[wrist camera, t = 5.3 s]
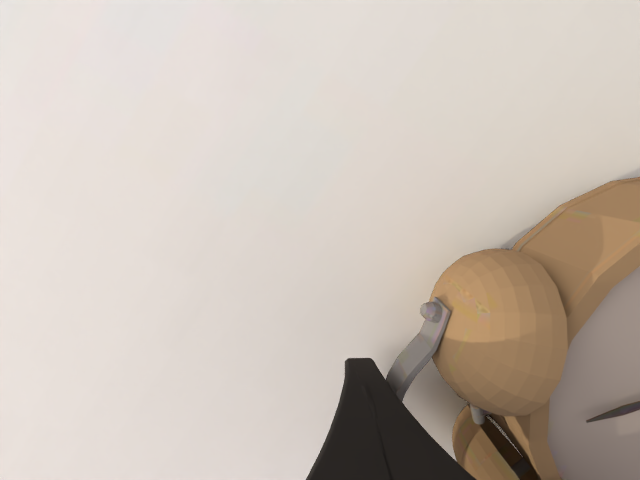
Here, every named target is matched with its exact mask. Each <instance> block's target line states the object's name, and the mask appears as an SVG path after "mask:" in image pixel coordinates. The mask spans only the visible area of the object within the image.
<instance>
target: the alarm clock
mask: <svg viewBox="0 0 640 480" xmlns="http://www.w3.org/2000/svg"><path fill="white" fill-rule="evenodd" d="M420 311H421V315H422V316H423V317H424V318H425V319H426V320H425V322H424V324H423V326H422V328H421V330H420V333H419V334H418V335H417V336H416V337H415V338H414V339H413V340H412V341H411V342H410V344H409V345H408V346H407V347H406V348H405V349H404V350H403V352H402V353H401V354H400V355H399V356H398V357H397V359H396V361H395V362H394V364H393V366H392V367H391V369H390V371H389V372H388V375H387V378H386V381H387V383H388V384H389V386H390V387H391V388H392V390H393V391H394V393H395V394H396V395H397V396H398V398H399V399H400V400H401V402H402V401H403V398H404V395H405V393H406V391H407V389H408V388H409V386H410V384H411V383H412V381H413V380H414V378H415V376H416V375H417V374H418V373H419V372H420V371H421V369H422V368H423V367H424V366H425V365H426V364H427V363H428V361H429V360H430V358H431V357H432V359H433V361H434V363H435V365H436V367H437V369H438V371H439V373H440V374H441V376H442V378H443V379H444V380H445V381H446V382H447V384H448V385H449V386H450V387H451V388H452V389H453V390H454V391H455V392H456V393H457V395H458V396H459V397H461V398H462V399H464V400H465V401H467V402H468V403H469V404H468V405H467V406H466V407H465V408H464V409H463V410H462V411H461V413H460V414H459V416H458V417H457V419H456V422H455V424H454V427H453V434H452V442H453V449H454V453H455V457H456V460H457V463H458V464H459V465H461V466H462V467H463V468H464V469H465V470H466V471H467V472H468V473H470V474H471V475H472V476H473V477H474V478H476V479H477V480H640V177H637V178H630V179H624V180H617V181H611V182H609V183H607V184H604V185H602V186H600V187H598V188H596V189H594V190H592V191H590V192H588V193H585V194H583V195H581V196H579V197H577V198H575V199H573V200H571V201H569V202H566V203H564V204H562V205H560V206H559V207H558V208H556V209H555V210H554V211H553V212H552V213H551V214H549V215H548V216H547V217H546V218H545V219H544V220H542V221H541V222H540V223H539V224H538V225H537V226H535V227H534V228H533V229H532V230H531V231H530V232H528V233H527V234H526V235H525V236H524V237H523V238H521V239H520V240H519V241H518V242H517V243H516V244H515V246H514V247H513V249H512V250H507V249H487V250H482V251H479V252H475V253H472V254H468V255H465V256H463V257H461V258H460V259H459V260H457V261H456V262H455V263H453V264H452V265H451V266H450V267H449V268H447V269H446V270H445V272H444V273H443V274H442V275H441V277H440V278H439V280H438V281H437V283H436V284H435V287H434V290H433V292H432V295H431V297H430V301H429V302H428V303H424V304H423V305H422V306H421V310H420ZM485 415H490V416H491V417H492V418H493V419H494V420H495V421H496V422H497V423H498V424H499V426H500V427H501V428H502V430H503V431H504V432H505V434H506V435H507V436H508V438H509V439H510V440H511V442H512V443H513V444H514V446H515V447H516V448H517V450H518V451H519V452H520V454H521V455H522V456H523V457H522V456H521V455H520V454H519V452H518V451H517V450H516V449H515V448H514V447H513V445H512V444H511V443H510V442H509V441H508V440H507V439H506V438H505V436H504V435H503V434H502V433H501V432H500V431H499V430H498V429H497V428H496V426H495V425H494V424H493V423H492V422H491V421H490V420H489V419H488V418H487V417H486V416H485Z"/></svg>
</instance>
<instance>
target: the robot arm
mask: <svg viewBox="0 0 640 480" xmlns="http://www.w3.org/2000/svg"><path fill="white" fill-rule="evenodd" d="M306 480H477V479H476V478H474V477H473V476H472V475H471V474H470V473H468V472H467V471H466V470H465V469H464V468H463V467H462V466H461V465H459V464H458V463H457V462H456V461H455V460H454V459H453V458H452V457H451V456H450V455H449V454H448V453H447V452H446V451H445V450H444V449H443V448H442V447H441V446H440V445H439V444H438V443H437V442H436V441H435V440H434V439H433V438H432V437H431V436H430V435H429V434H428V433H427V431H426V430H425V429H424V428H423V427H422V426H421V425H420V424H419V422H418V421H417V420H416V419H415V418H414V417H413V415H412V414H411V413H410V412H409V411H408V409H407V408H406V407H405V406H404V404H403V403H402V402H401V400H400V399H399V398H398V396H397V395H396V394H395V393H394V391H393V390H392V388H391V387H390V386H389V384H388V383H387V381H386V380H385V378H384V377H383V375H382V374H381V372H380V371H379V369H378V368H377V366H376V364H375V362H374V361H373V360H372V359H371V358H348V359H347V360H346V361H345V379H344V385H343V389H342V393H341V397H340V401H339V404H338V408H337V410H336V413H335V416H334V419H333V422H332V425H331V428H330V430H329V433H328V435H327V437H326V440H325V442H324V444H323V447H322V449H321V451H320V453H319V455H318V457H317V459H316V461H315V463H314V465H313V467H312V469H311V471H310V473H309V475H308V477H307V479H306Z"/></svg>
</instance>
